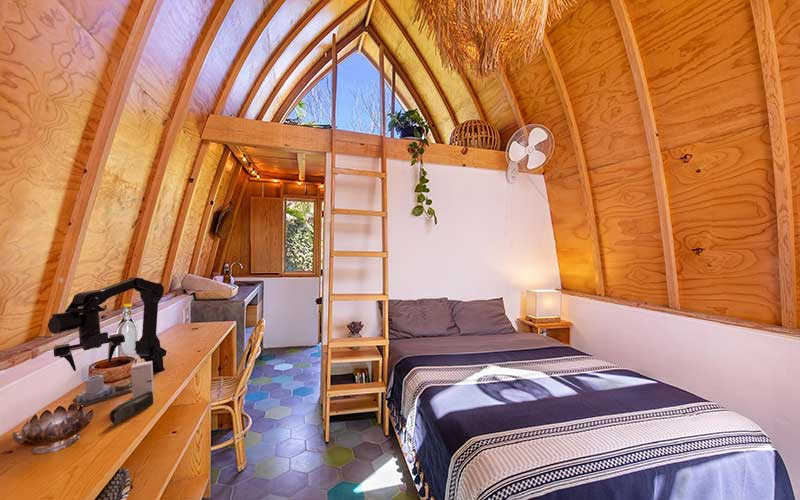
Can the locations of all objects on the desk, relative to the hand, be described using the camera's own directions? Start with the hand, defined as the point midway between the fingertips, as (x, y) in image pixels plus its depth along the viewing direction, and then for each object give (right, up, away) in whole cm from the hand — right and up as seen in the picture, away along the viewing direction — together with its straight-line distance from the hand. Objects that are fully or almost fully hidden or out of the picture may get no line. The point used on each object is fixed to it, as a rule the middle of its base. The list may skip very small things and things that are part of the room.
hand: (92, 366), depth 117 cm
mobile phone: (+26, -12, -13) cm, 31 cm away
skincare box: (+19, -11, 0) cm, 22 cm away
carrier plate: (+3, -12, +4) cm, 12 cm away
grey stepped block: (+1, -11, +1) cm, 11 cm away
